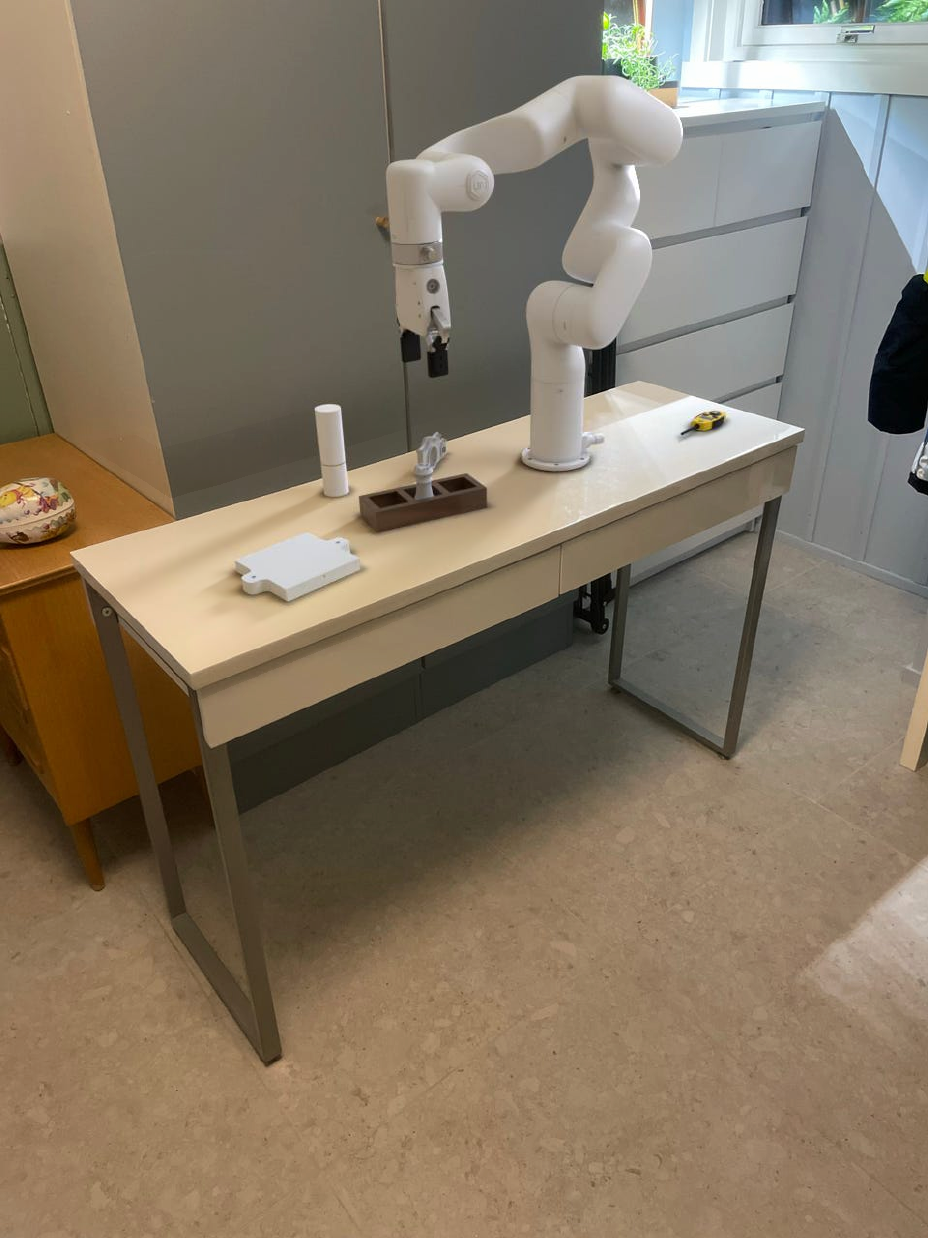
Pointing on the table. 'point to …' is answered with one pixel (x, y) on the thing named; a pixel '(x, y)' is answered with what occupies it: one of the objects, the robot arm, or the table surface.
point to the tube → (331, 450)
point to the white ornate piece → (431, 450)
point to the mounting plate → (296, 566)
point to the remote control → (707, 421)
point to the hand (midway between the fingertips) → (424, 368)
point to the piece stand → (422, 502)
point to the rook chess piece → (423, 481)
